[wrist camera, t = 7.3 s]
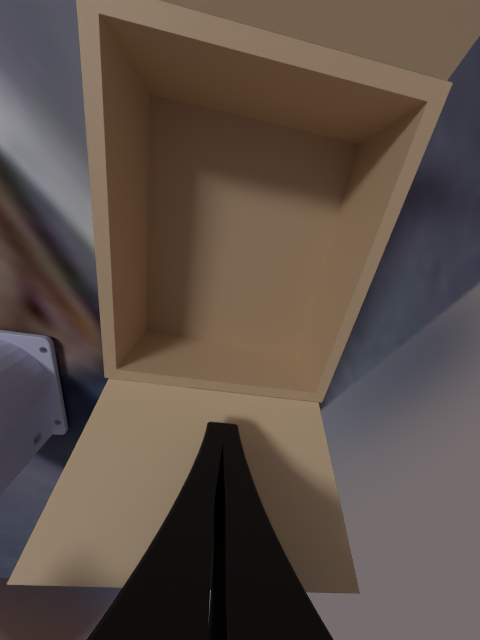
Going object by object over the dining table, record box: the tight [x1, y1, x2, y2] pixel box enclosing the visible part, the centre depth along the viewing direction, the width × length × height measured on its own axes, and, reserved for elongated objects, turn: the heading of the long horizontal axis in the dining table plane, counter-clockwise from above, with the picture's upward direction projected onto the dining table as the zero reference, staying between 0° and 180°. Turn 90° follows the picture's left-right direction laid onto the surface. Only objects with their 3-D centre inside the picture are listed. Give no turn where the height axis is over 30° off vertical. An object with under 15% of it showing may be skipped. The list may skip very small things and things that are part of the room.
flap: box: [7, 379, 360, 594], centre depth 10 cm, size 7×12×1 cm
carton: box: [76, 0, 453, 402], centre depth 12 cm, size 14×12×5 cm
